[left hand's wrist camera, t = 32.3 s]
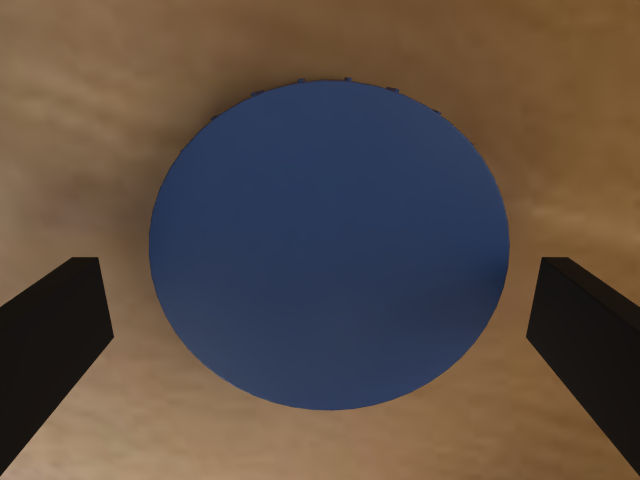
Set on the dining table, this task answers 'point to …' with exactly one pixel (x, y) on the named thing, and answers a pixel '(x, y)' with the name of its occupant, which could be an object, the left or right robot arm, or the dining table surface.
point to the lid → (329, 245)
